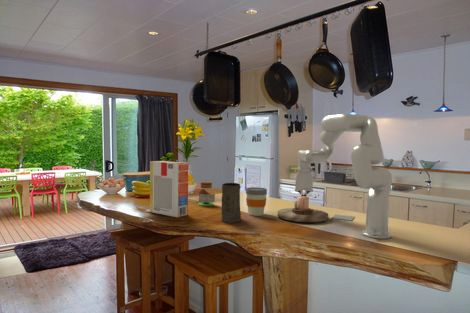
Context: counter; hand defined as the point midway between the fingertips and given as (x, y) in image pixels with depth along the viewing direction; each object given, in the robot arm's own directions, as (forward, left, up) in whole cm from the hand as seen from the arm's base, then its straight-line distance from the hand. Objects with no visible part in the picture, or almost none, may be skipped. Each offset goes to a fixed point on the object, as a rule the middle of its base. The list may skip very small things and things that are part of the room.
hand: (303, 201), depth 200 cm
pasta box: (-41, +69, -8) cm, 80 cm away
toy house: (-6, +66, -8) cm, 66 cm away
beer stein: (-36, +30, -8) cm, 47 cm away
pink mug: (-12, -3, -5) cm, 13 cm away
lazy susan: (-11, -2, -8) cm, 13 cm away
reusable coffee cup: (-15, +25, -8) cm, 30 cm away
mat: (+2, -22, -8) cm, 24 cm away
